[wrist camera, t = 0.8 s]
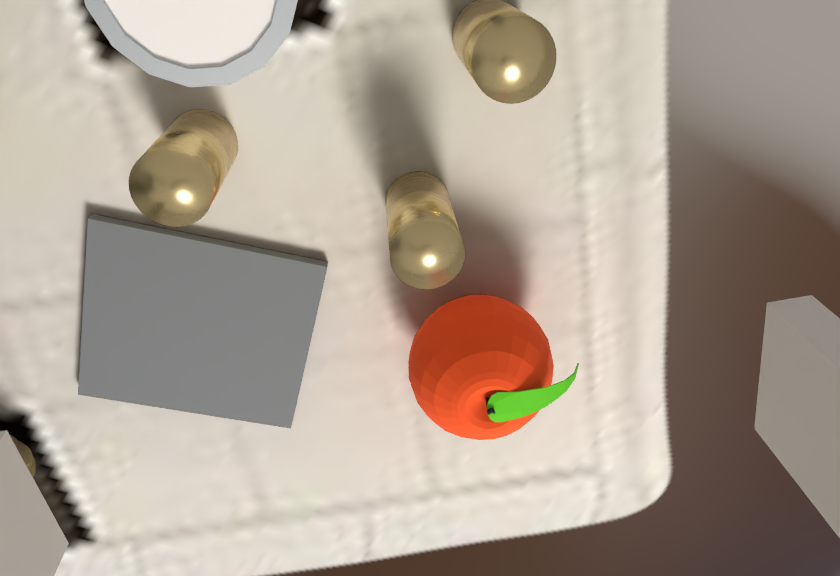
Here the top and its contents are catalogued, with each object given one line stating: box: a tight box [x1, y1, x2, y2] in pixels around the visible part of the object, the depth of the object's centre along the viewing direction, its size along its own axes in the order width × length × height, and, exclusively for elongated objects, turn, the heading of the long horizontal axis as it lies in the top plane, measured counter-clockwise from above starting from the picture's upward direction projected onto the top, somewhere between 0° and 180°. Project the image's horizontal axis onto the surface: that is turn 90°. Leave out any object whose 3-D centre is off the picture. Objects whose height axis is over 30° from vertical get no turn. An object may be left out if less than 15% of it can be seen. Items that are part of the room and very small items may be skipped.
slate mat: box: [78, 214, 328, 428], centre depth 35 cm, size 11×10×1 cm
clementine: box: [409, 294, 579, 440], centre depth 34 cm, size 8×7×7 cm
